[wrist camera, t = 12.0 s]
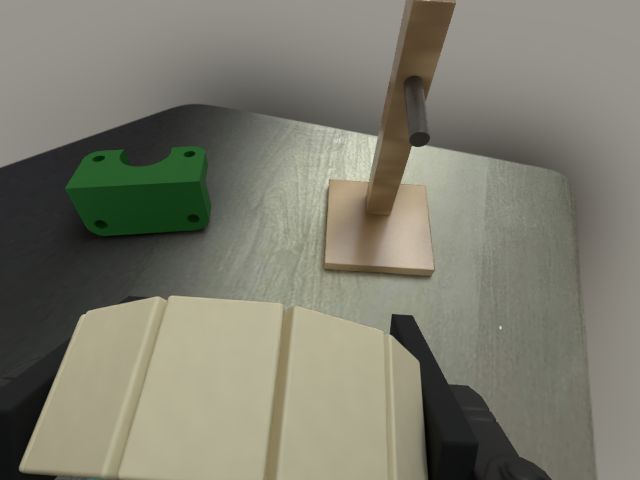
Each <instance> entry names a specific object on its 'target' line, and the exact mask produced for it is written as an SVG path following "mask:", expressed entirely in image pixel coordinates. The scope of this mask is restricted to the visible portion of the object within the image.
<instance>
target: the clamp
mask: <svg viewBox="0 0 640 480" xmlns="http://www.w3.org/2000/svg"><path fill="white" fill-rule="evenodd" d="M207 168H208V163H207V158H206V154H205V150H204V149H202V148H200V147H172V152H171V154H170V155H169V156H168V157H167V158H166V159H165V160H163V161H161V162H159V163H156V164H153V165H150V166H143V167H133V166H130V164H129V161H128V159H127V156H126V153H125V151H124V150H110V151H98V152H94V153H91V154H89V155H87V156H86V157H85V158H84V159H83V160H82V162H81V164H80V165H79V167H78V169H77V170H76V172H75V173H74V175H73V177H72V178H71V180H70V181H69V183H68V185H67V186H66V188H65V189H66V191H67V193H68V195H69V197H70V199H71V200H72V202H73V204H74V206H75V208H76V210H77V211H78V213H79V215H80V217H81V219H82V221H83V222H84V224H85V226H86V228H87V229H88V230H90V231H91V232H93V233H95V234H97V235H101V236H111V235H126V234H142V233H157V232H173V231H188V230H200V229H203V228H204V227H206V226H207V224H208V222H209V216H210V210H211V203H210V199H209V195H208V191H207V187H206V182H205V179H206V173H207Z"/></svg>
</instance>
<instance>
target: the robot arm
mask: <svg viewBox="0 0 640 480" xmlns="http://www.w3.org/2000/svg"><path fill="white" fill-rule="evenodd" d="M147 298H148V297H133V296H128V297H127V298H125V299H124V300H123V301H121V302H120V303H118V304H123V303H128V302H133V301H137V300H142V299H147ZM118 304H117V305H118ZM390 335H392V336H393V337H394V338H395V339H396V340H397V341H398V342H399V343H400V344H401V345H402V346H403V347H404V348H405V349H406V350H408V351H409V352H410V353H411V354H412V355H413V356H414V357H415V358H416V359H417V360H418V361H419V363H420V376H421V390H422V403H423V416H424V429H425V442H426V455H427V468H428V480H551V479H550V477H549V476H548V475H547V474H546V472H545V471H543V470H542V469H541V468H539V467H538V466H537V465H535V464H534V463H532V462H530V461H528V460H526V459H524V458H522V457H519V455H518V454H517V452H516V451H515V449H514V447H513V446H512V444H511V443H510V441H509V439H508V438H507V436H506V435H505V433H504V432H503V430H502V428H501V427H500V425H499V424H498V422H496V419H495V417H494V416H493V414H492V413H491V412H490V411H489V408H488V406H487V405H486V403H485V401H484V400H483V398H482V397H481V396H480V395H479V394H477V393H476V392H475V391H474V390H473V389H471V388H470V387H469V386H463V385H449V384H448V383H447V381H446V379H445V377H444V375H443V373H442V371H441V369H440V368H439V366H438V364H437V362H436V360H435V358H434V356H433V354H432V352H431V350H430V348H429V346H428V344H427V343H426V341H425V339H424V337H423V335H422V333H421V331H420V329H419V327H418V325H417V323H416V321H415V319H414V318H413V316H412V315H398V314H392V319H391V328H390ZM71 338H72V337H71ZM71 338H70V339H68V340H67V341H66V342H64V343H63V344H61V345H60V346H59V347H57V348H56V349H55V350H53V351H52V352H50V353H49V354H48V355H46V356H45V357H43V358H36V359H34V360H32V361H29V362H27V363H25V364H22V365H20V366H18V367H17V368H15V369H14V370H12V371H11V372H9V373H8V374H6V375H5V376H4V377H3V378H2V379H0V480H54V479H55V478H56V477H57V476H53V475H40V474H27V473H22V472H20V471H19V466H20V463H21V461H22V458H23V456H24V453H25V451H26V448H27V446H28V443H29V441H30V439H31V436H32V434H33V431H34V429H35V426H36V424H37V421H38V419H39V417H40V414H41V412H42V409H43V407H44V404H45V402H46V399H47V397H48V395H49V392H50V390H51V387H52V385H53V382H54V380H55V377H56V375H57V372H58V370H59V368H60V365H61V363H62V360H63V358H64V355H65V353H66V350H67V348H68V346H69V343H70V341H71Z"/></svg>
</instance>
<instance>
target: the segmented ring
mask: <svg viewBox="0 0 640 480" xmlns="http://www.w3.org/2000/svg"><path fill="white" fill-rule="evenodd" d="M19 471H20V472H22V473H27V474H40V475H53V476H65V477H78V478H91V479H104V480H428V468H427V455H426V442H425V429H424V416H423V403H422V390H421V376H420V363H419V361H418V360H417V359H416V358H415V357H414V356H413V355H412V354H411V353H410V352H409V351H408V350H406V349H405V348H404V347H403V346H402V345H401V344H400V343H399V342H398V341H397V340H396V339H395V338H394V337H393V336H392V335H389V334H388V335H384V332H383V331H382V330H378V329H375V328H371V327H368V326H365V325H361V324H358V323H354V322H351V321H348V320H344V319H341V318H337V317H334V316H331V315H327V314H324V313H320V312H317V311H313V310H310V309H307V308H303V307H300V306H293V307H292V308H290V309H289V310H287V311H284V306H283V304H281V303H271V302H257V301H242V300H227V299H213V298H198V297H183V296H170V297H169V298H168V301H166V300H165V299H163V298H161V297H152V298H147V299H142V300H137V301H133V302H128V303H123V304H118V305H114V306H109V307H104V308H99V309H95V310H90V311H88V312H87V313H86V314H84V315H82V316H81V317H80V319H79V321H78V324H77V326H76V328H75V331H74V333H73V336H72V338H71V341H70V343H69V346H68V348H67V350H66V353H65V355H64V358H63V360H62V363H61V365H60V368H59V370H58V372H57V375H56V377H55V380H54V382H53V385H52V387H51V390H50V392H49V395H48V397H47V399H46V402H45V404H44V407H43V409H42V412H41V414H40V417H39V419H38V421H37V424H36V426H35V429H34V431H33V434H32V436H31V439H30V441H29V443H28V446H27V448H26V451H25V453H24V456H23V458H22V461H21V463H20V466H19Z"/></svg>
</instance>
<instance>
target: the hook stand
mask: <svg viewBox="0 0 640 480" xmlns="http://www.w3.org/2000/svg"><path fill="white" fill-rule="evenodd" d="M455 5H456V1H455V0H406V3H405V8H404V13H403V18H402V22H401V27H400V32H399V37H398V42H397V47H396V52H395V57H394V62H393V67H392V72H391V76H390V81H389V86H388V91H387V96H386V101H385V105H384V111H383V115H382V120H381V125H380V130H379V135H378V140H377V145H376V149H375V154H374V159H373V164H372V169H371V174H370V179H369V182H362V181H347V180H331V179H330V180H329V194H328V211H327V228H326V246H325V263H324V269H332V270H348V271H363V272H379V273H394V274H410V275H425V276H432V274H433V272H434V271H435V267H434V258H433V249H432V240H431V231H430V223H429V214H428V205H427V196H426V187H425V185H410V184H400V183H401V180H402V176H403V173H404V170H405V167H406V163H407V160H408V157H409V154H410V150H411V147H412V146H415V147H421V146H424V145H426V144H427V143H428V142H429V140H430V136H429V128H428V121H427V112H426V105H425V102H426V99H427V95H428V92H429V89H430V86H431V82H432V79H433V76H434V72H435V69H436V66H437V63H438V60H439V56H440V53H441V50H442V47H443V43H444V40H445V37H446V33H447V31H448V27H449V24H450V21H451V17H452V14H453V11H454V8H455Z"/></svg>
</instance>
